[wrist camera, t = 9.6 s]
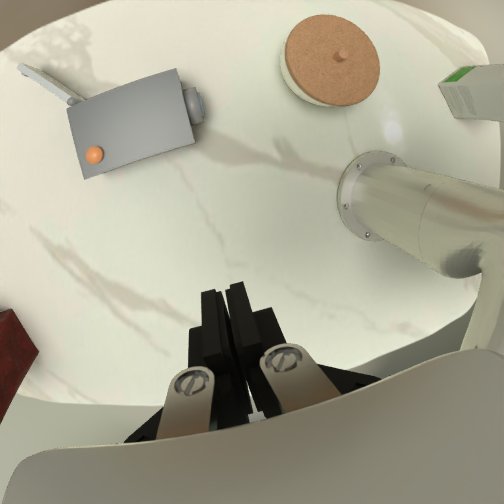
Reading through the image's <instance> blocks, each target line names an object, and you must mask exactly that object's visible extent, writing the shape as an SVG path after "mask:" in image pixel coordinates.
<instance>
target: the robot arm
mask: <svg viewBox="0 0 504 504" xmlns="http://www.w3.org/2000/svg"><path fill="white" fill-rule="evenodd" d="M356 165H357V168H356ZM337 201H338V209H339V212H340V216H341V218H342V220H343V222H344V224H345V225H346V226H347V228H348V229H349V230H350V231H351V232H352V233H354V234H355V235H357V236H358V237H360V238H362V239H364V240H368V241H381V240H387V241H388V242H390V243H392V244H393V245H395V246H397V247H398V248H400V249H401V250H403V251H405V252H406V253H408V254H409V255H411V256H413V257H414V258H416V259H417V260H419V261H421V262H422V263H424V264H425V265H427V266H428V267H430V268H431V269H433V270H435V271H436V272H438V273H440V274H442V275H443V276H446V277H449V278H456V279H460V278H466V277H470V276H473V275H476V274H479V273H481V272H482V280H481V284H480V288H479V292H478V298H477V302H476V305H475V308H474V311H473V314H472V318H471V320H470V323H469V326H468V329H467V332H466V334H465V337H464V340H463V342H462V345H461V348H460V351H455V352H452V353H448V354H445V355H441V356H438V357H436V358H433V359H430V360H428V361H425V362H423V363H420V364H418V365H416V366H414V367H411V368H409V369H406V370H404V371H402V372H399V373H397V374H393V375H389V377H387V378H385V379H380V378H378V377H375V376H371V375H365V374H361V373H356V372H351V371H347V370H342V369H338V368H333V367H329V366H324V365H320V364H316V362H315V361H314V360H313V359H312V357H311V356H310V355H309V353H308V352H307V351H306V350H305V349H304V348H303V347H302V346H299V345H297V344H291V343H286V340H285V338H284V336H283V333H282V331H281V328H280V326H279V324H278V321H277V319H276V317H275V314H274V312H273V309H272V307H270V308H266V309H263V310H259V311H255V312H252V309H251V306H250V303H249V299H248V296H247V293H246V289H245V286H244V283H243V281H242V282H238V283H235V284H231V285H230V289H227V290H225V292H226V298H227V303H228V309H229V314H228V311H227V308H226V305H225V301H224V298H223V295H222V292H221V291H219V292H216V290H215V289H212V290H209V291H205V292H201V313H202V326H199V327H195V328H191V329H189V349H188V368H187V369H185V370H183V371H181V372H179V373H178V374H177V375H176V376H175V377H174V378H173V379H172V381H171V383H170V385H169V389H168V393H167V397H166V400H165V404H164V407H162V408H161V409H160V410H159V411H158V412H157V413H156V414H155V415H153V416H152V417H151V418H150V419H149V420H148V421H147V422H145V423H144V424H143V425H142V426H141V427H140V428H138V429H137V430H136V431H135V432H134V433H133V434H131V435H130V436H129V437H128V439H126V440H125V441H124V443H123V444H111V445H94V446H79V447H64V448H56V449H51V450H47V451H43V452H40V453H37V454H35V455H32V456H30V457H28V458H26V459H24V460H23V461H22V462H20V464H18V466H17V467H16V469H15V471H14V472H13V475H12V476H11V479H10V481H9V484H8V486H7V489H6V492H5V495H4V498H3V501H2V504H504V190H502V189H497V188H493V187H488V186H484V185H480V184H475V183H472V182H468V181H464V180H460V179H455V178H451V177H447V176H443V175H439V174H435V173H430V172H426V171H421V170H416V169H412V168H408V167H407V165H406V164H405V163H404V162H403V161H402V160H401V159H400V158H398V157H397V156H395V155H393V154H391V153H388V152H382V151H373V152H368V153H365V154H363V155H361V156H359V157H358V158H356V159H355V160H354V161H353V162H352V163H351V164H350V165H349V166H348V167H347V169H346V170H345V172H344V174H343V176H342V178H341V181H340V184H339V188H338V198H337ZM344 204H345V206H343V205H344ZM229 315H230V317H229ZM247 383H248V386H249V389H250V392H251V395H252V397H253V400H254V403H255V405H256V408H257V411H258V412H260V411H263V413H264V416H265V417H266V418H267V419H264V420H260V421H256V422H252V423H250V422H249V417H248V414H252V413H253V409H252V405H251V400H250V395H249V390H248V386H247Z"/></svg>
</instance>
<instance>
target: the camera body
mask: <svg viewBox="0 0 504 504" xmlns="http://www.w3.org/2000/svg"><path fill="white" fill-rule="evenodd" d="M67 114H68V118H69V123H70V127H71V132H72V136H73V140H74V144H75V148H76V152H77V155H78V159H79V163H80V166H81V170H82V174H83V177H84V180H85V179H88V178H91V177H93V176H96V175H99V174H102V173H105V172H107V171H110V170H113V169H115V168H118V167H121V166H124V165H127V164H130V163H132V162H135V161H138V160H141V159H144V158H147V157H151V156H154V155H157V154H160V153H163V152H166V151H170V150H173V149H176V148H180V147H183V146H187V145H190V144H194V143H196V141H195V137H194V133H193V130H192V126H191V125H194V124H197V123H201V122H204V121H203V115H205V113H204V108H203V104H202V100H201V96H200V93H197V92H196V88H191V89H187V90H182V85H181V81H180V78H179V75H178V72H177V69H176V68H175V69H172V70H168V71H165V72H161V73H158V74H155V75H152V76H149V77H145V78H142V79H139V80H136V81H134V82H131V83H128V84H125V85H122V86H120V87H117V88H114V89H112V90H109V91H106V92H104V93H101V94H99V95H97V96H94V97H92V98H89V99H87V100H85V101H82V102H80V103H78V104H76V105H73V106H71V107H69V108H67Z"/></svg>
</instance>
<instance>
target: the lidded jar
mask: <svg viewBox="0 0 504 504" xmlns="http://www.w3.org/2000/svg"><path fill="white" fill-rule="evenodd" d="M280 68H281V73H282V75H283V78H284V80H285V82H286V84H287V85H288V86H289V88H290V89H291V90H292V91H293V92H294V93H295V94H296V95H297V96H299V97H300V98H302V99H303V100H305V101H307V102H310V103H313V104H315V105H320V106H329V107H334V106H349V105H353V104H357V103H359V102H361V101H363V100H364V99H366V98H367V97H368V96H369V95H370V94H371V93H372V92H373V90H374V89H375V87H376V85H377V83H378V79H379V74H380V64H379V58H378V54H377V52H376V49H375V47H374V45H373V43H372V42H371V40H370V39H369V37H368V36H367V35H366V34H365V33H364V32H363V31H362V30H361V29H360V28H359V27H358V26H356V25H355V24H353V23H352V22H350V21H348V20H346V19H344V18H341V17H337V16H333V15H316V16H312V17H309V18H306V19H305V20H303V21H301V22H300V23H299V24H297V25H296V26H295V28H294V29H293V30H292V31H291V33H290V34H289V36H288V38H287V39H286V41H285V43H284V45H283V47H282V50H281V55H280Z"/></svg>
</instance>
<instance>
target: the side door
mask: <svg viewBox="0 0 504 504" xmlns="http://www.w3.org/2000/svg"><path fill="white" fill-rule="evenodd" d="M16 69H18V70H19V71H21V72H22V73H21V74H22V75H24V76H27V77H30V78H31V79H33V80H34V81H36V82H37V83H39V84H40V85H42V86H43V87H44V88H46V89H47V90H49V91H50V92H52V93H53V94H55V95H56V96H58V97H59V98H61V99H62V100H63V101H65V102H66V103H67V104H68V105H70V106H73V105H76V104H78V103H80V102H82V101H85V99H83V98H82V97H80V96H79V95H77V94H76V93H74V92H73V91H71V90H70V89H68V88H67V87H65V86H64V85H62V84H61V83H59V82H58V81H56V80H55V79H53V78H52V77H50V76H49V75H47V74H46V73H44V72H43V71H41V70H39V69H36V68H34V67H31V66H28V65H26V64H23V63H19V65H18V67H17V68H16Z"/></svg>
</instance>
